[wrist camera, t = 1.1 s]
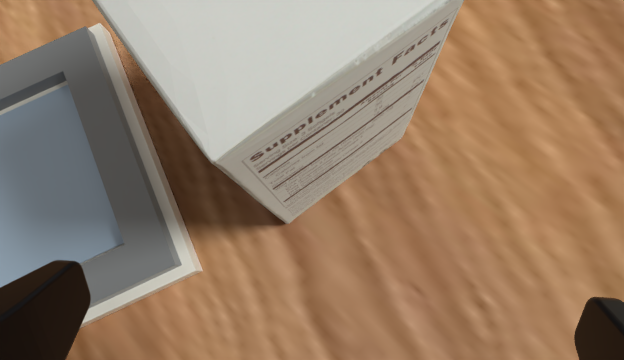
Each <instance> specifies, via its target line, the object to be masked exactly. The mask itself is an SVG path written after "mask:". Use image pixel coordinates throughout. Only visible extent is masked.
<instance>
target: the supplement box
mask: <svg viewBox="0 0 624 360" xmlns="http://www.w3.org/2000/svg"><path fill="white" fill-rule="evenodd" d="M92 1H93V2H94V4H95V5H96V6H97V8H98V9H99V11H100V12H101V14H102V15H103V16H104V18H105V19H106V21H107V22H108V24H109V25H110V26H111V28H112V29H113V31H114V32H115V34H116V35H117V36H118V38H119V39H120V41H121V42H122V43H123V45H124V46H125V48H126V49H127V50H128V52H129V53H130V54H131V56H132V57H133V59H134V60H135V61H136V63H137V64H138V66H139V67H140V68H141V70H142V71H143V72H144V74H145V75H146V77H147V78H148V79H149V81H150V82H151V84H152V85H153V86H154V88H155V89H156V90H157V92H158V93H159V95H160V96H161V97H162V99H163V100H164V101H165V103H166V104H167V106H168V107H169V108H170V110H171V111H172V112H173V114H174V115H175V117H176V118H177V119H178V121H179V122H180V123H181V125H182V126H183V127H184V129H185V130H186V131H187V133H188V134H189V135H190V137H191V138H192V139H193V140H194V142H195V143H196V144H197V146H198V147H199V148H200V150H201V151H202V152H203V154H204V155H205V156H206V158H207V159H208V160H209V161H210V162H211V163H212V164H213V165H215V166H216V167H217V168H219V169H220V170H221V171H222V172H223V173H225V174H226V175H227V176H228V177H229V178H231V179H232V180H233V181H234V182H236V183H237V184H238V185H239V186H241V187H242V188H243V189H244V190H245V191H246V192H247V193H249V194H250V195H251V196H252V197H253V198H254V199H255V200H257V201H258V202H259V203H260V204H262V205H263V206H264V207H265V208H267V209H268V210H269V211H270V212H272V213H273V214H274V215H275V216H277V217H278V218H279V219H281V220H282V221H283V222H285V223H286V224H289V223H290V222H292V221H293V220H294V219H295V218H296V217H298V216H299V215H300V214H302V213H303V212H304V211H306V210H307V209H308V208H310V207H311V206H312V205H314V204H315V203H316V202H318V201H319V200H320V199H321V198H323V197H324V196H325V195H327V194H328V193H329V192H331V191H332V190H333V189H335V188H336V187H337V186H339V185H340V184H341V183H343V182H344V181H345V180H347V179H348V178H349V177H351V176H352V175H353V174H355V173H356V172H357V171H359V170H360V169H361V168H363V167H364V166H365V165H367V164H368V163H369V162H371V161H372V160H373V159H375V158H376V157H377V156H379V155H380V154H381V153H383V152H384V151H385V150H387V149H388V148H389V147H390V146H392V145H393V144H394V143H396V142H397V141H398V140H400V139H401V138H402V136H403V134H404V132H405V130H406V128H407V125H408V123H409V121H410V120H411V118H412V115H413V113H414V111H415V108H416V106H417V104H418V102H419V99H420V97H421V95H422V92H423V90H424V88H425V86H426V83H427V81H428V79H429V76H430V74H431V72H432V70H433V67H434V65H435V63H436V60H437V58H438V56H439V53H440V51H441V49H442V47H443V44H444V42H445V40H446V38H447V35H448V33H449V31H450V28H451V26H452V24H453V22H454V20H455V18H456V15H457V13H458V11H459V9H460V7H461V5H462V3H463V1H464V0H92Z"/></svg>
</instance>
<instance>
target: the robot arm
mask: <svg viewBox="0 0 624 360" xmlns="http://www.w3.org/2000/svg"><path fill="white" fill-rule="evenodd" d="M90 302H91V294H90V290H89V287H88V284H87V281H86V278H85V274H84V271H83V268H82V266H81V264H80V263H79V262H76V261H69V260H55V261H52V262H50V263H48V264H46V265H44V266H42V267H40V268H38V269H36V270H34V271H32V272H30V273H28V274H26V275H24V276H22V277H20V278H18V279H16V280H14V281H12V282H10V283H8V284H6V285H4V286H2V287H0V360H66V358H67V355H68V353H69V351H70V349H71V346H72V344H73V342H74V340H75V338H76V335H77V333H78V331H79V329H80V327H81V324H82V322H83V320H84V318H85V315H86V313H87V311H88V309H89V306H90ZM574 339H575V346H576V350H577V353H578V356H579V360H624V302H622V301H621V300H619V299H615V298H604V297H592V298H590V299H589V300H588V301H587V303H586V305H585V307H584V310H583V312H582V315H581V318H580V320H579V323H578V325H577V328H576V330H575V336H574Z"/></svg>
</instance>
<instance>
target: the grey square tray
mask: <svg viewBox="0 0 624 360" xmlns="http://www.w3.org/2000/svg"><path fill="white" fill-rule="evenodd" d="M55 260H69V261H76V262H79V263H80V264H81V266H82V268H83V271H84V274H85V278H86V281H87V284H88V287H89V290H90V294H91V302H90V306H89V309H88V311H87V313H86V315H85V318H84V320H83V322H82V324H81V327H80V328H82V327H84V326H86V325H88V324H90V323H93V322H95V321H97V320H99V319H101V318H103V317H105V316H108V315H110V314H112V313H114V312H116V311H118V310H120V309H122V308H125V307H127V306H129V305H131V304H133V303H135V302H137V301H140V300H142V299H144V298H146V297H148V296H150V295H152V294H154V293H157V292H159V291H161V290H163V289H165V288H167V287H169V286H172V285H174V284H176V283H178V282H180V281H182V280H184V279H186V278H189V277H191V276H193V275H195V274H197V273H199V272H201V271H203V270H202V267H201V265H200V262H199V260H198V257H197V255H196V252H195V250H194V247H193V244H192V242H191V239H190V237H189V234H188V232H187V229H186V227H185V224H184V221H183V219H182V216H181V214H180V211H179V209H178V206H177V204H176V201H175V198H174V196H173V193H172V191H171V188H170V186H169V183H168V180H167V178H166V175H165V173H164V170H163V168H162V165H161V163H160V160H159V157H158V155H157V152H156V150H155V147H154V145H153V142H152V140H151V137H150V134H149V132H148V129H147V127H146V124H145V122H144V119H143V117H142V114H141V111H140V109H139V106H138V104H137V101H136V99H135V96H134V94H133V91H132V88H131V86H130V83H129V81H128V78H127V76H126V73H125V71H124V68H123V65H122V63H121V60H120V58H119V55H118V53H117V50H116V48H115V45H114V42H113V40H112V37H111V35H110V33H109V32H108V31H107V30H106V29H105V28H104V27H103V26H102V25H101V23H99V24H97V25H94V26H92V27H90V28H87V27H86V26H85V27H83V28H81V29H78V30H76V31H74V32H72V33H70V34H67V35H65V36H63V37H61V38H59V39H56V40H54V41H52V42H50V43H48V44H45V45H43V46H41V47H39V48H37V49H34V50H32V51H30V52H28V53H26V54H23V55H21V56H19V57H17V58H15V59H12V60H10V61H8V62H6V63H3V64H1V65H0V287H2V286H4V285H6V284H8V283H10V282H12V281H14V280H16V279H18V278H20V277H22V276H24V275H26V274H28V273H30V272H32V271H34V270H36V269H38V268H40V267H42V266H44V265H46V264H48V263H50V262H52V261H55Z"/></svg>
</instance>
